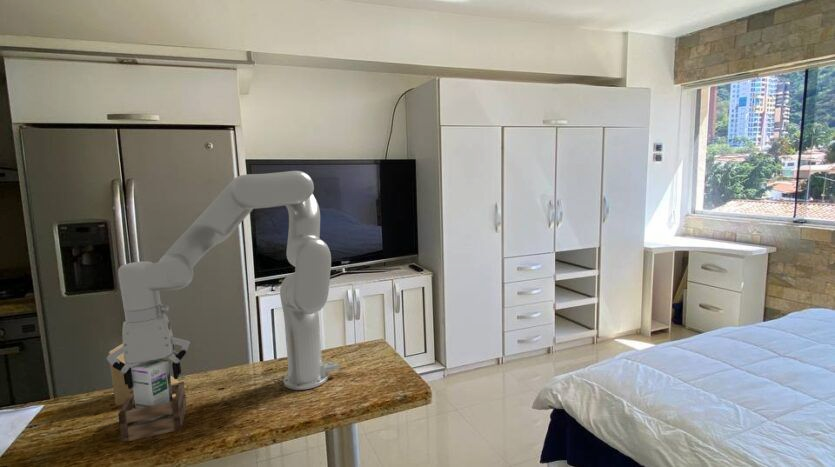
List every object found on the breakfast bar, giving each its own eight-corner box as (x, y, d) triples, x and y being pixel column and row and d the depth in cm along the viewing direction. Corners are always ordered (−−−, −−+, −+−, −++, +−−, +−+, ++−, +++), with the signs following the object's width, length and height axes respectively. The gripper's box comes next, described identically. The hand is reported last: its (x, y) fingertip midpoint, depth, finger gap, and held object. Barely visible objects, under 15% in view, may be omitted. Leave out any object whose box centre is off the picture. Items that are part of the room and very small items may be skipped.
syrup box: (154, 427, 105) (149, 369, 103) (135, 423, 106) (130, 366, 105) (174, 415, 110) (169, 359, 108) (156, 412, 112) (151, 356, 110)
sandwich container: (174, 401, 119) (167, 348, 118) (114, 405, 118) (107, 352, 116) (187, 386, 128) (182, 336, 126) (132, 390, 127) (125, 340, 125)
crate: (186, 406, 116) (183, 381, 115) (181, 429, 105) (178, 402, 104) (133, 416, 112) (130, 391, 111) (122, 442, 101) (118, 414, 100)
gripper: (186, 303, 111) (195, 367, 114) (105, 315, 105) (116, 383, 108) (182, 311, 105) (192, 379, 107) (95, 325, 98) (108, 397, 101)
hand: (154, 381), depth 107 cm, fingers open, 9 cm apart
